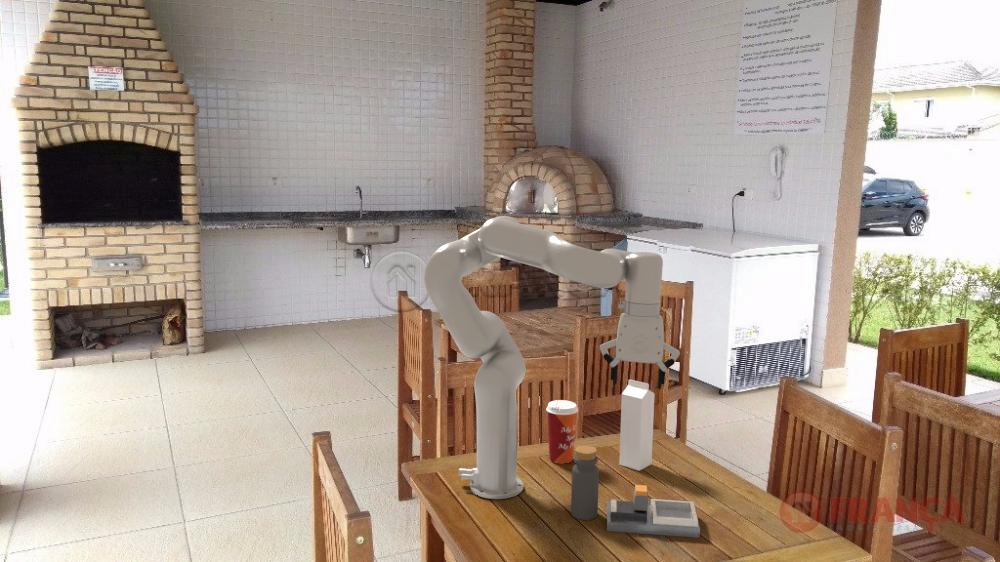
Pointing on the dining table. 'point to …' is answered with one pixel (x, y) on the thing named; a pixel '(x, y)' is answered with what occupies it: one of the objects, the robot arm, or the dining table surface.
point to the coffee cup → (561, 430)
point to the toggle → (641, 498)
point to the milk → (636, 425)
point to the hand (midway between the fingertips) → (637, 385)
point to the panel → (654, 518)
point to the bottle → (585, 484)
